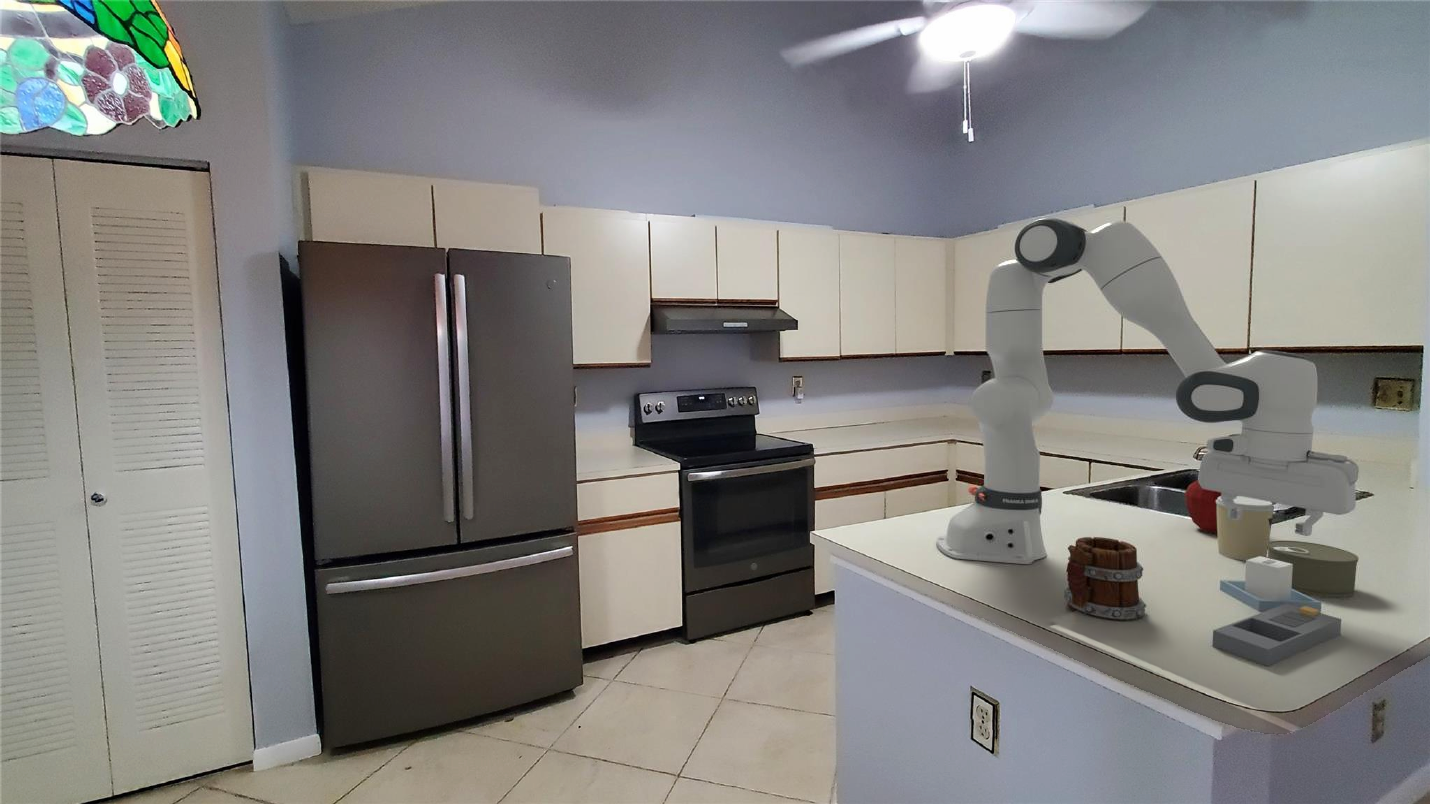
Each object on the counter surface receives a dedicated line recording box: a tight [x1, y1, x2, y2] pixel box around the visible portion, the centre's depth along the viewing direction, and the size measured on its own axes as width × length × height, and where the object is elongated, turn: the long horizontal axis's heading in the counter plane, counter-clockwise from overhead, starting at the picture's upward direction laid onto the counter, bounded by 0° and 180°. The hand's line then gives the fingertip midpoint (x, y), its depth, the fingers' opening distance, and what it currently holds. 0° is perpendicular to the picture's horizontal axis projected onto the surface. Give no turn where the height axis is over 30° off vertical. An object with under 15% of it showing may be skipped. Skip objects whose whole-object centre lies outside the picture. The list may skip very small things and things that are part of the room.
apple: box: [1184, 480, 1238, 534], centre depth 146 cm, size 12×12×13 cm
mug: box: [1063, 536, 1147, 622], centre depth 102 cm, size 12×14×15 cm
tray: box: [1219, 579, 1322, 613], centre depth 104 cm, size 9×9×3 cm
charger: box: [1244, 556, 1293, 600], centre depth 104 cm, size 4×4×7 cm
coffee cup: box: [1216, 496, 1275, 562], centre depth 129 cm, size 9×9×12 cm
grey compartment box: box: [1211, 603, 1342, 667], centre depth 91 cm, size 25×6×4 cm, turn 115°
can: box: [1267, 540, 1359, 599], centre depth 112 cm, size 12×12×7 cm
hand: (1267, 526), depth 104 cm, fingers open, 8 cm apart
